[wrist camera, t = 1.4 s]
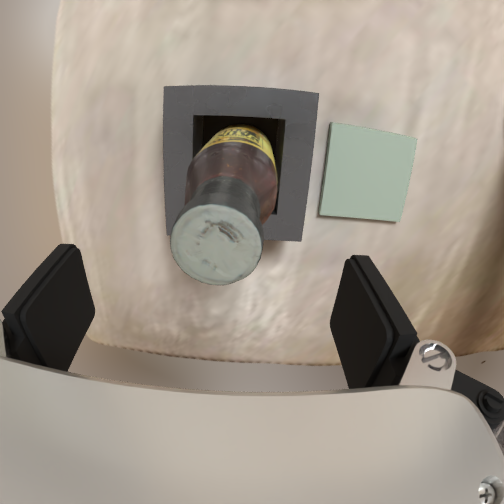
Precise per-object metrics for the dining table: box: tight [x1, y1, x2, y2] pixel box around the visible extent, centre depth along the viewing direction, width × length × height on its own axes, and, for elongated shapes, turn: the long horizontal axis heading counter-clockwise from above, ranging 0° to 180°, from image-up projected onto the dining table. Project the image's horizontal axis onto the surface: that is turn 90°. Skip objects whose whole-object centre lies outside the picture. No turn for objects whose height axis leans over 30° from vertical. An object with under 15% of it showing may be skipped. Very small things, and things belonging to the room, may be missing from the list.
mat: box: [319, 122, 417, 222], centre depth 31 cm, size 10×10×1 cm
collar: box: [163, 85, 319, 242], centre depth 27 cm, size 12×13×6 cm
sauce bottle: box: [170, 124, 277, 285], centre depth 21 cm, size 7×6×20 cm
